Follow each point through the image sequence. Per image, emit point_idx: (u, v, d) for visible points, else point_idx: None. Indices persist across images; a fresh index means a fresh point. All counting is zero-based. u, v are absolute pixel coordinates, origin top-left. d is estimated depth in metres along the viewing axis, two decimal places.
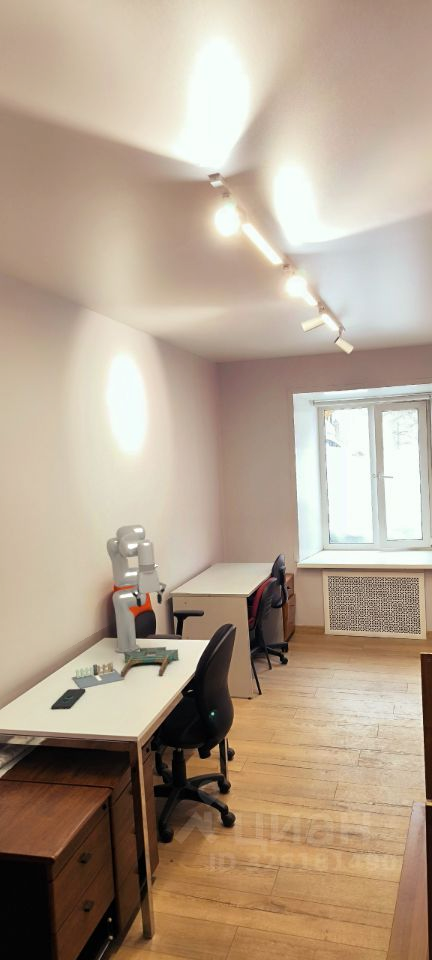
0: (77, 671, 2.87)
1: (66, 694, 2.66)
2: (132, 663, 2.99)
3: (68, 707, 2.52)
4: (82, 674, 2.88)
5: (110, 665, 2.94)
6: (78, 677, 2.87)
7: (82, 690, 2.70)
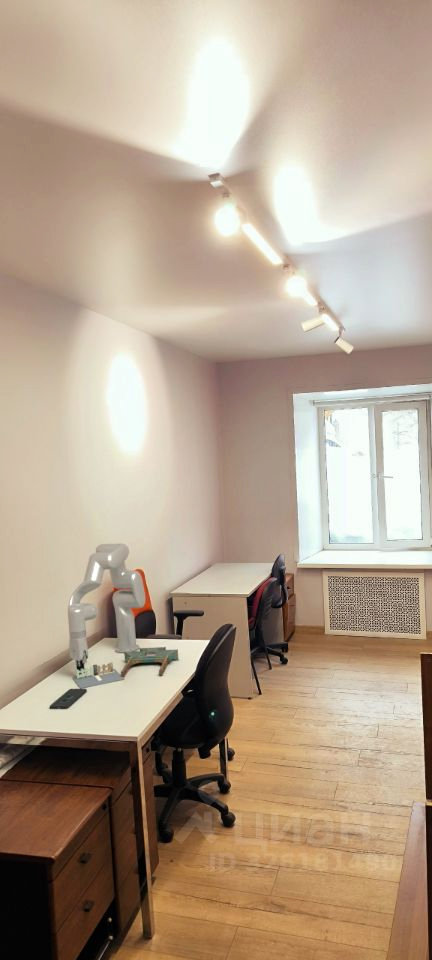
0: (77, 671, 2.87)
1: (67, 693, 2.67)
2: (132, 663, 2.99)
3: (66, 707, 2.52)
4: (82, 674, 2.88)
5: (110, 665, 2.94)
6: (78, 677, 2.87)
7: (83, 690, 2.70)
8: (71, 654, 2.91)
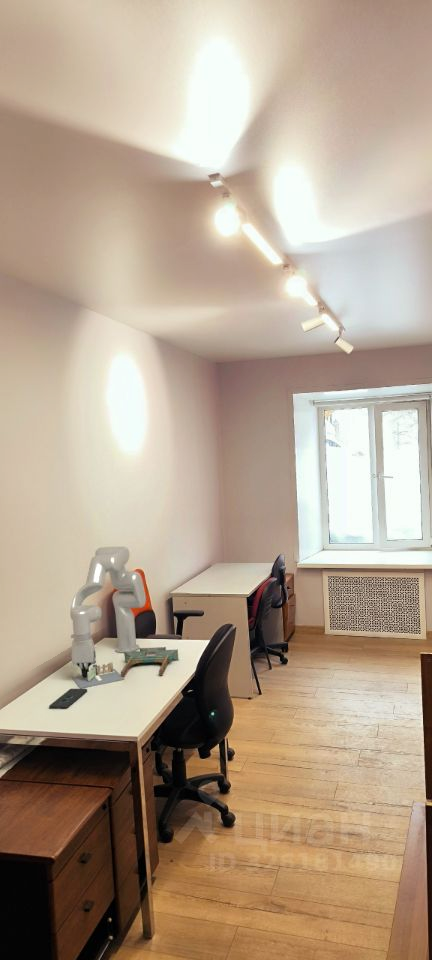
0: (89, 673, 2.83)
1: (67, 693, 2.67)
2: (132, 663, 2.99)
3: (65, 707, 2.52)
4: (91, 676, 2.85)
5: (110, 665, 2.94)
6: (90, 679, 2.83)
7: (83, 690, 2.70)
8: (76, 658, 2.83)
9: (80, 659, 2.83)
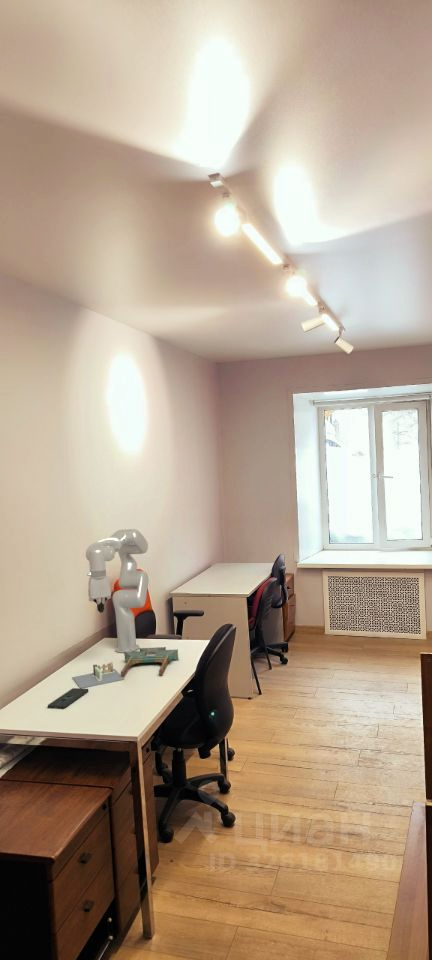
0: None
1: (68, 693, 2.67)
2: (132, 663, 2.99)
3: (62, 707, 2.52)
4: None
5: (110, 665, 2.94)
6: (101, 678, 2.84)
7: (84, 690, 2.69)
8: (96, 594, 2.99)
9: (99, 594, 3.00)
